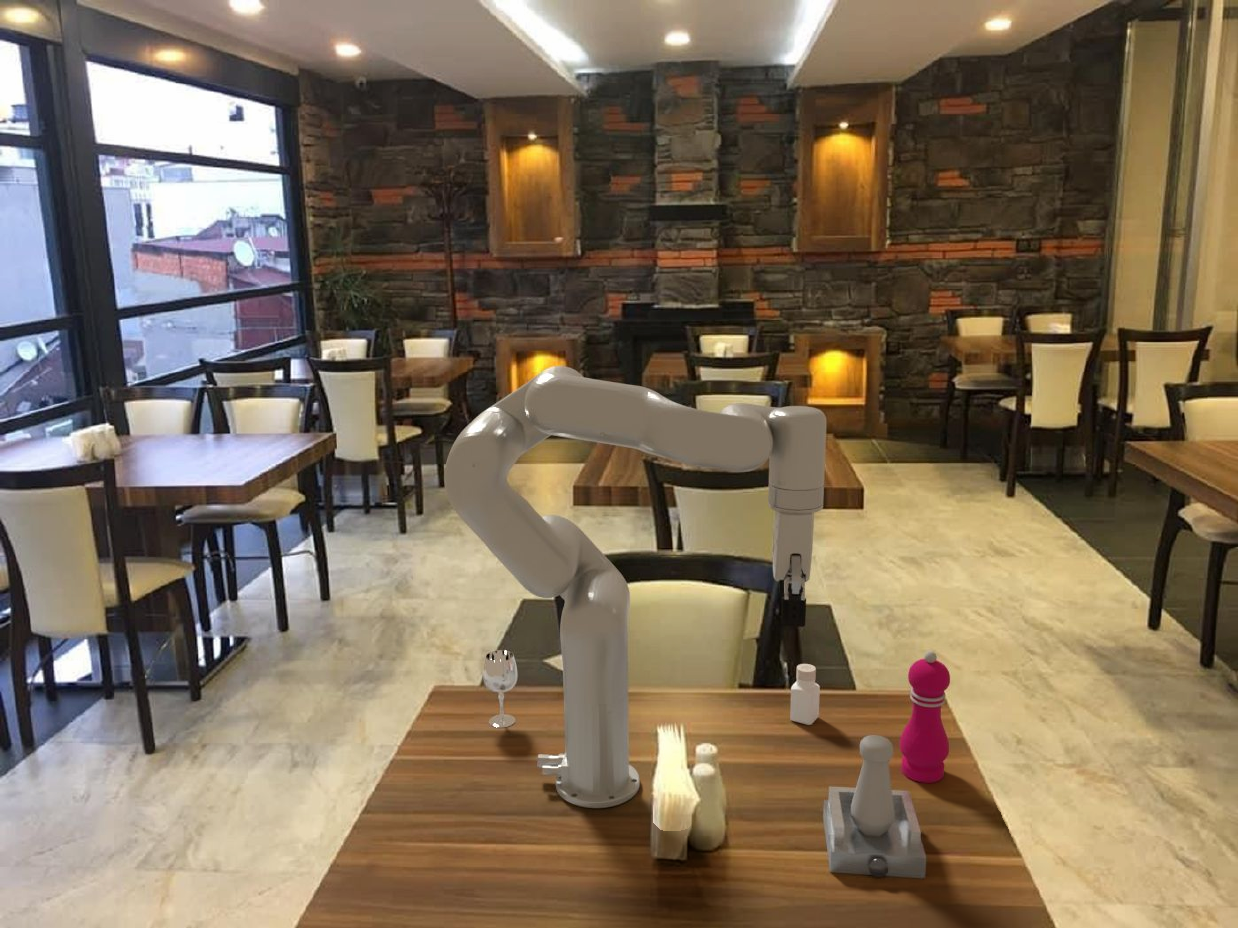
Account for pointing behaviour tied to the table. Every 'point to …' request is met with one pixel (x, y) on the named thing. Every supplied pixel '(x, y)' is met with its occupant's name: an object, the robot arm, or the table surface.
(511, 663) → the wineglass
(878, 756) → the salt shaker
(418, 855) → the table surface
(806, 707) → the salt shaker
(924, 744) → the pepper mill
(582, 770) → the robot arm
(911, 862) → the grey square tray
